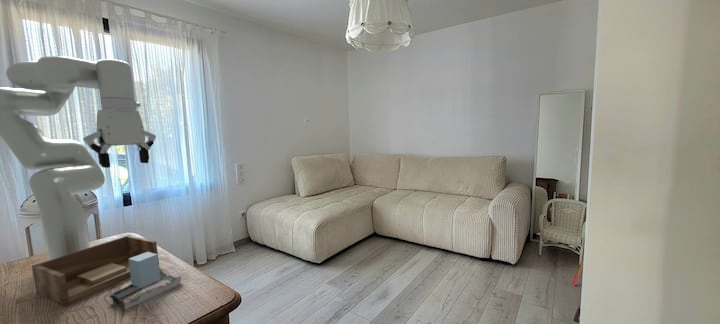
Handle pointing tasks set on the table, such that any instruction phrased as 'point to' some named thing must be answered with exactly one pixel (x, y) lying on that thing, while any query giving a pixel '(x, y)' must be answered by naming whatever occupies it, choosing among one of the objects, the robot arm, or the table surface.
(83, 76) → the robot arm
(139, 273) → the block
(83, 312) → the table surface
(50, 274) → the crate
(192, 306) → the table surface
